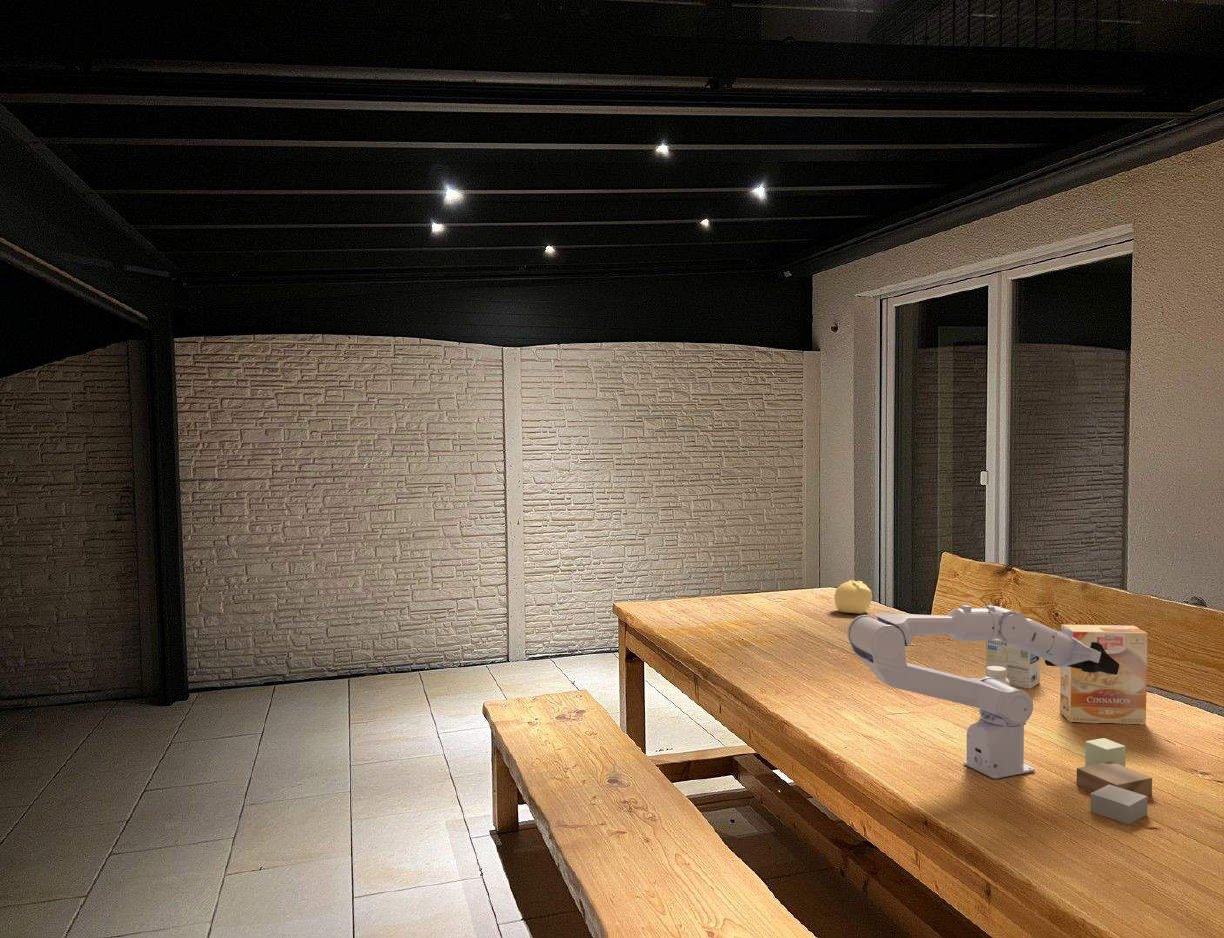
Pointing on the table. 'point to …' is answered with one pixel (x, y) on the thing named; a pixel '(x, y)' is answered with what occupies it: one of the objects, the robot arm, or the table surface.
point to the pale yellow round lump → (853, 597)
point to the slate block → (1118, 804)
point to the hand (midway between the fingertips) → (1100, 666)
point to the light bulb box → (1014, 663)
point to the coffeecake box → (1107, 678)
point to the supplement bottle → (997, 673)
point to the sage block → (1104, 752)
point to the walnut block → (1113, 778)
